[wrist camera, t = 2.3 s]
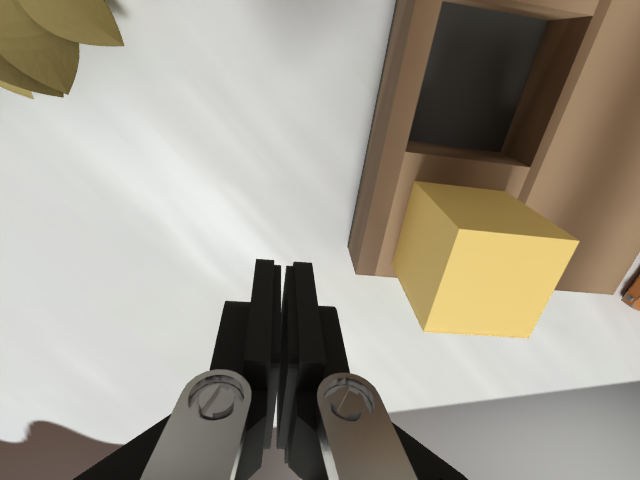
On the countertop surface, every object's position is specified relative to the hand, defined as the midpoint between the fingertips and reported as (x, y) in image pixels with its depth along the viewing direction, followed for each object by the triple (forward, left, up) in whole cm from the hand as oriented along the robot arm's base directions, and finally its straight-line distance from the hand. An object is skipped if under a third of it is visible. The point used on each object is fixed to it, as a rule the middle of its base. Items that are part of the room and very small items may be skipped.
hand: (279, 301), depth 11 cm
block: (-8, 0, -7) cm, 10 cm away
